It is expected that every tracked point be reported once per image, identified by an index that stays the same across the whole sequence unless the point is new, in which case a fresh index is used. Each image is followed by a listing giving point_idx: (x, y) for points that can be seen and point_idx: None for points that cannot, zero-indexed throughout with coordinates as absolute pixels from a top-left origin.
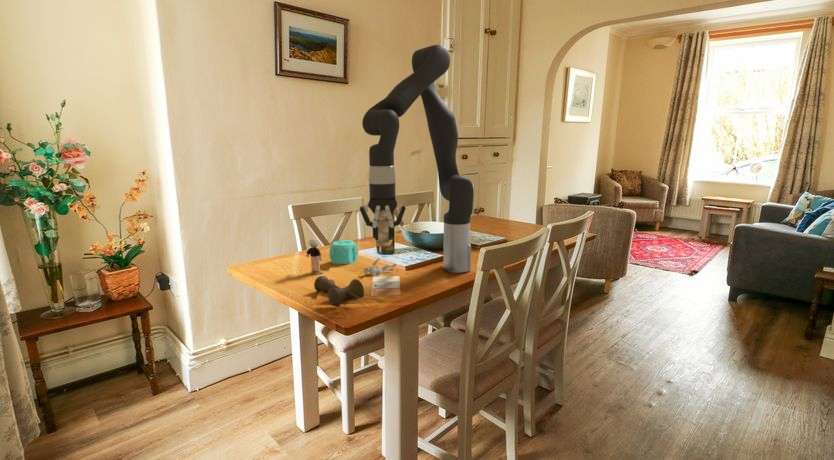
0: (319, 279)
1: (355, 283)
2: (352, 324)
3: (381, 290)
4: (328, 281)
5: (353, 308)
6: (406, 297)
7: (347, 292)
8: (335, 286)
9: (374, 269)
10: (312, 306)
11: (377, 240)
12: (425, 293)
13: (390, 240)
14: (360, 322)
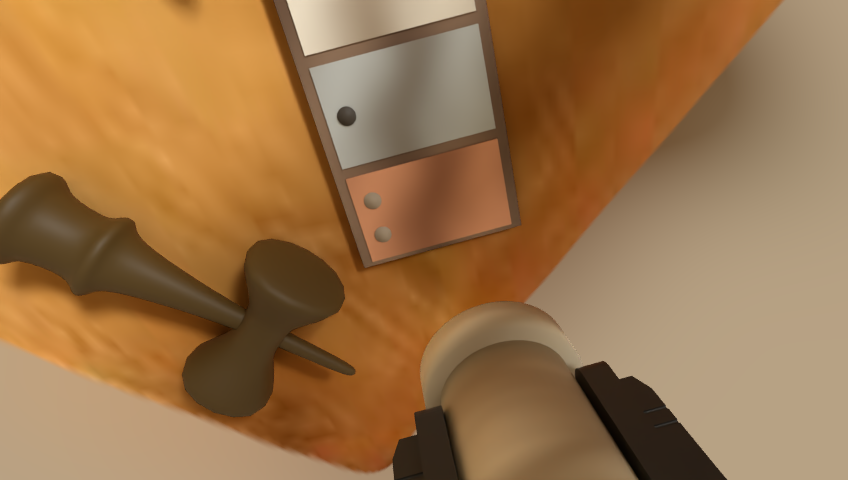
0: (6, 256)
1: (295, 322)
2: (384, 459)
3: (403, 185)
4: (94, 278)
5: None
6: (533, 210)
7: (277, 347)
8: (171, 301)
9: None
10: (151, 379)
11: (430, 384)
12: (621, 143)
13: (575, 353)
14: None
